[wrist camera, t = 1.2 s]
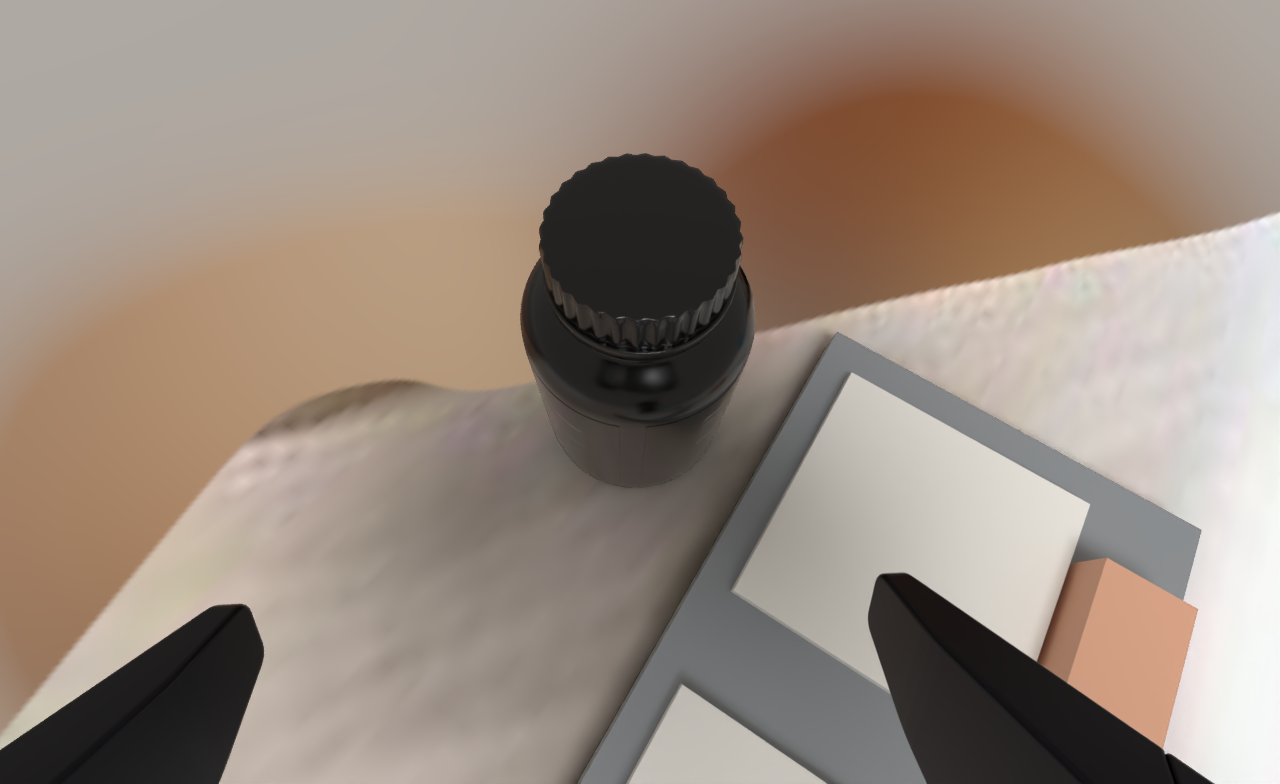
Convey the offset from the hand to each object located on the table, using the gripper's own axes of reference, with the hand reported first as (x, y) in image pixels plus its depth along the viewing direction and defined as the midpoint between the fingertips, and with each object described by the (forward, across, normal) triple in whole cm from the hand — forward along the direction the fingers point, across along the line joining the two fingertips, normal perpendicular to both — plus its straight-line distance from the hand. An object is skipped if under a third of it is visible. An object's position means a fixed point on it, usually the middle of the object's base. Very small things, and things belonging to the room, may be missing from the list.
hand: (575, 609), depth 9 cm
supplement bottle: (+16, -2, +5) cm, 17 cm away
